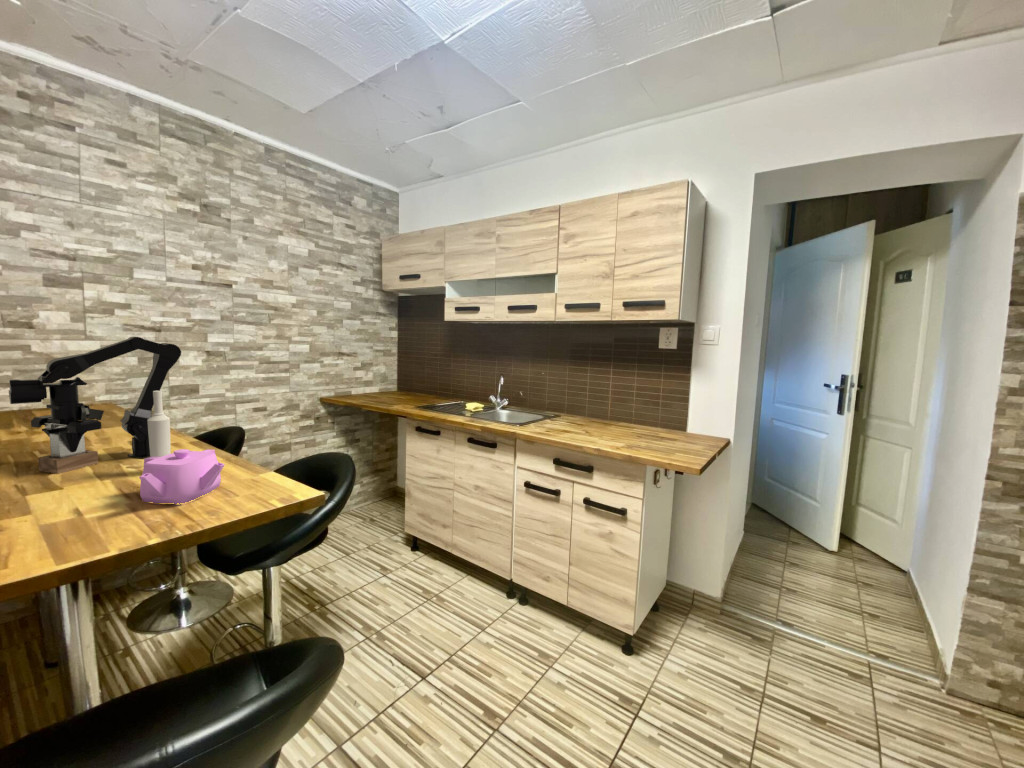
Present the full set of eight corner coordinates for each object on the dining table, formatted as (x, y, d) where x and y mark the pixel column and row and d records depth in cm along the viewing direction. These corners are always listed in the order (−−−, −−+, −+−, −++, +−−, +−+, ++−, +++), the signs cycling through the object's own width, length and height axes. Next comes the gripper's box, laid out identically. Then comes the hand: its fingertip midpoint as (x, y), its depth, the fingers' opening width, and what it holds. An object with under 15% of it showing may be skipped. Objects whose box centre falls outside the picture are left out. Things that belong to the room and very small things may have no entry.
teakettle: (216, 479, 120) (214, 438, 119) (227, 497, 108) (225, 453, 107) (138, 492, 108) (136, 447, 107) (141, 514, 96) (138, 464, 95)
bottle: (145, 472, 121) (141, 391, 119) (165, 468, 126) (162, 389, 123) (156, 475, 120) (152, 393, 117) (176, 470, 125) (172, 391, 122)
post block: (98, 463, 127) (97, 451, 126) (57, 473, 117) (56, 460, 117) (80, 461, 128) (79, 448, 128) (39, 470, 119) (38, 457, 118)
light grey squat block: (85, 458, 125) (83, 430, 124) (60, 464, 119) (58, 434, 118) (77, 457, 126) (75, 429, 125) (51, 463, 120) (49, 433, 119)
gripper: (120, 399, 126) (123, 447, 128) (75, 394, 130) (78, 441, 132) (75, 405, 115) (79, 457, 117) (27, 399, 119) (32, 450, 121)
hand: (68, 451), depth 122 cm, fingers closed on light grey squat block, 3 cm apart
